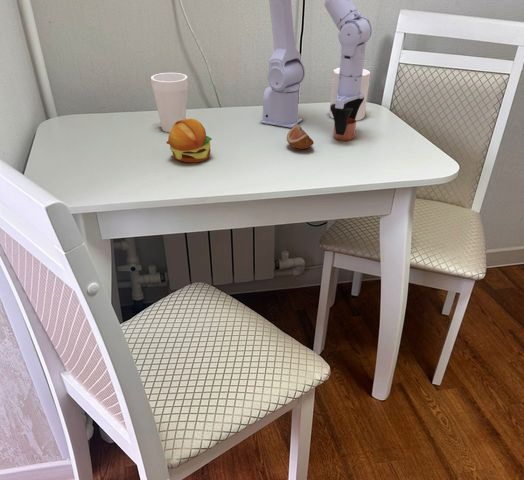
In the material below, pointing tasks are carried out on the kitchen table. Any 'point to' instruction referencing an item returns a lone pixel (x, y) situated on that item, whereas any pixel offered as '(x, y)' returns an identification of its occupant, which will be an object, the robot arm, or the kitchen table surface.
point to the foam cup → (170, 98)
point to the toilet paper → (363, 91)
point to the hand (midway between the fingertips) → (344, 129)
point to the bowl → (347, 131)
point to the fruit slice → (299, 138)
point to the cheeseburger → (189, 141)
